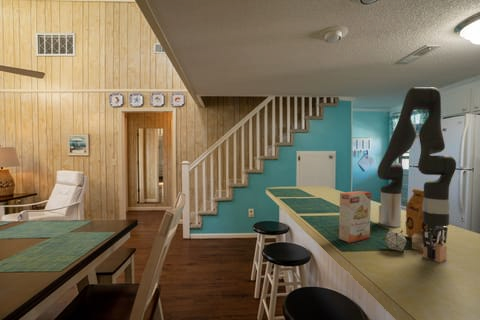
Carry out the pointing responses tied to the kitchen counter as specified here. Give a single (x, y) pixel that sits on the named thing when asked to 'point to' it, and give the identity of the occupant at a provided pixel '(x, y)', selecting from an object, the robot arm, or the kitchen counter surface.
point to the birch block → (417, 242)
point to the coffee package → (415, 214)
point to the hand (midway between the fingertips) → (434, 256)
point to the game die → (395, 240)
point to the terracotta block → (437, 252)
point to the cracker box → (354, 216)
